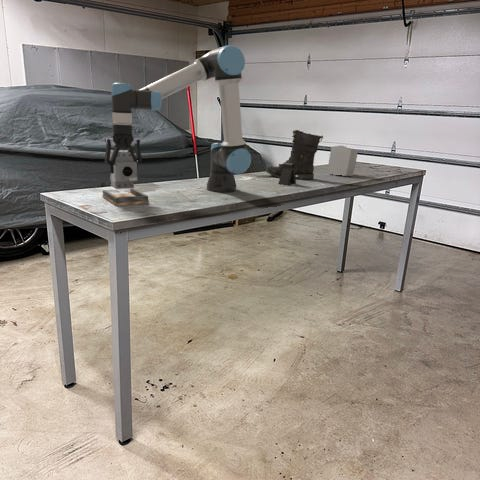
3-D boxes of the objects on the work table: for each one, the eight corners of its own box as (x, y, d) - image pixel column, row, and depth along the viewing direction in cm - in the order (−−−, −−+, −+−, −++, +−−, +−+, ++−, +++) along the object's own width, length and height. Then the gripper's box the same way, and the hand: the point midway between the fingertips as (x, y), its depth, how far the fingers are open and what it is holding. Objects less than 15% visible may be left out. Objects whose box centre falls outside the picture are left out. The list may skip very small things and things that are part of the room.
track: (133, 194, 185) (133, 188, 184) (148, 203, 171) (148, 196, 170) (102, 197, 178) (102, 190, 177) (115, 205, 164) (115, 198, 163)
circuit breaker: (120, 191, 165) (119, 153, 161) (110, 185, 177) (109, 150, 172) (138, 190, 169) (138, 153, 165) (128, 184, 180) (126, 150, 176)
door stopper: (287, 185, 229) (289, 163, 225) (278, 184, 232) (280, 162, 229) (296, 184, 235) (297, 162, 232) (287, 182, 239) (289, 161, 236)
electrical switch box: (356, 179, 281) (362, 149, 277) (345, 177, 270) (351, 146, 266) (337, 176, 290) (342, 147, 286) (326, 174, 279) (331, 144, 275)
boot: (266, 174, 267) (269, 128, 258) (318, 178, 261) (323, 131, 253) (264, 176, 256) (267, 128, 247) (318, 180, 250) (323, 131, 242)
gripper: (143, 124, 174) (144, 178, 180) (93, 122, 162) (96, 180, 169) (150, 125, 168) (150, 181, 174) (99, 123, 157) (102, 183, 163)
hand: (124, 180), depth 172 cm, fingers closed on circuit breaker, 8 cm apart
